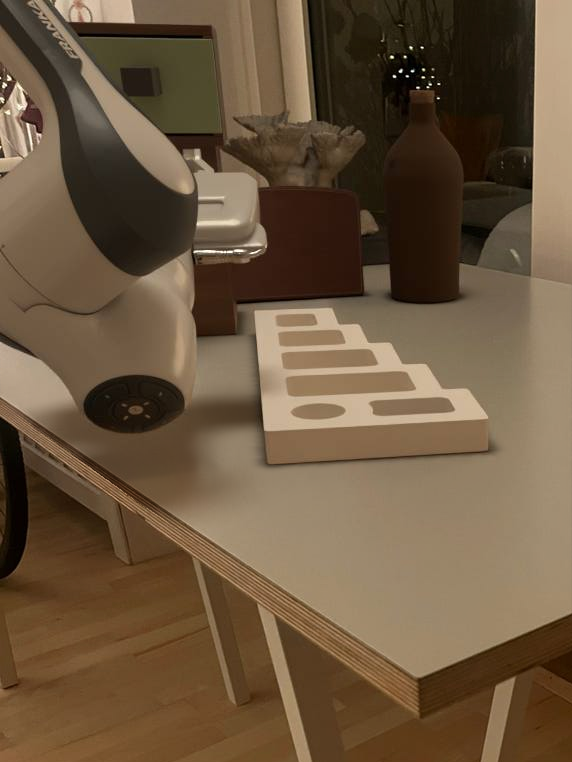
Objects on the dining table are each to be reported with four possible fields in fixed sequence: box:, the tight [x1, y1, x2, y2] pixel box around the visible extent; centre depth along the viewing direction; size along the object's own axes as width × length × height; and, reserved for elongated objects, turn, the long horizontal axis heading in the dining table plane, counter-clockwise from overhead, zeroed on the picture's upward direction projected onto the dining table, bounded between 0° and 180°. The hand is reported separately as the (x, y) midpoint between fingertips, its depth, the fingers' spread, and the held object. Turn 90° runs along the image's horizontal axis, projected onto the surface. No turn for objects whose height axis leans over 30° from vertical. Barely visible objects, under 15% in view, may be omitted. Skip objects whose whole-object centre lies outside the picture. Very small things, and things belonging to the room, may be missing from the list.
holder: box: [253, 307, 489, 465], centre depth 98 cm, size 45×18×3 cm, turn 12°
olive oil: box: [382, 89, 465, 304], centre depth 131 cm, size 11×11×25 cm
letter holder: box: [232, 185, 365, 303], centre depth 134 cm, size 10×20×14 cm, turn 112°
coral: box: [220, 109, 389, 266], centre depth 158 cm, size 25×20×22 cm
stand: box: [67, 21, 239, 337], centre depth 112 cm, size 14×14×31 cm
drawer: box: [80, 37, 222, 133], centre depth 102 cm, size 23×14×8 cm, turn 11°
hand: (136, 156), depth 86 cm, fingers open, 8 cm apart
